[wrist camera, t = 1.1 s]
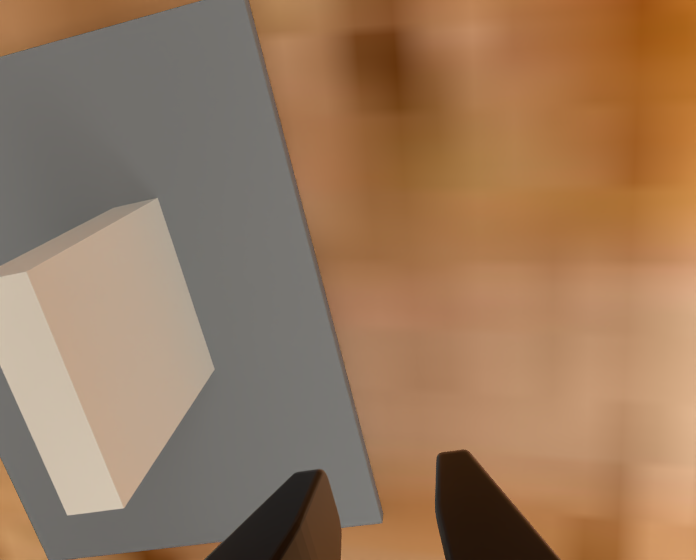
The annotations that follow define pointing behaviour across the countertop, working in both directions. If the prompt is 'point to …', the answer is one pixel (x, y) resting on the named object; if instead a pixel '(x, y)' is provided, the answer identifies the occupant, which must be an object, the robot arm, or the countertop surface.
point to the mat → (185, 268)
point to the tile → (102, 352)
